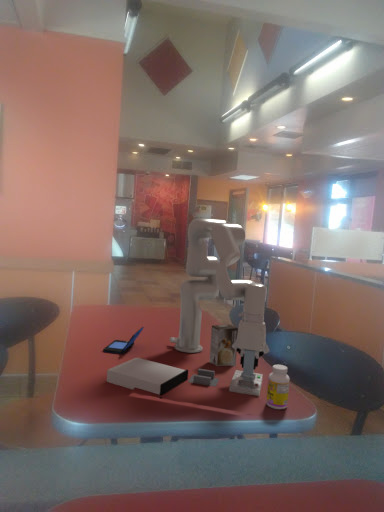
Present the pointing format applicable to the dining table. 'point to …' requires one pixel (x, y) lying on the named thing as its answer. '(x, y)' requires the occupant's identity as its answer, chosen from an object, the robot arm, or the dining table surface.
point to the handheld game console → (122, 344)
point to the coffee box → (223, 345)
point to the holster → (204, 378)
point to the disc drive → (146, 376)
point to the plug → (249, 362)
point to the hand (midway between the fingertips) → (248, 366)
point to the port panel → (246, 383)
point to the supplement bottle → (278, 387)
